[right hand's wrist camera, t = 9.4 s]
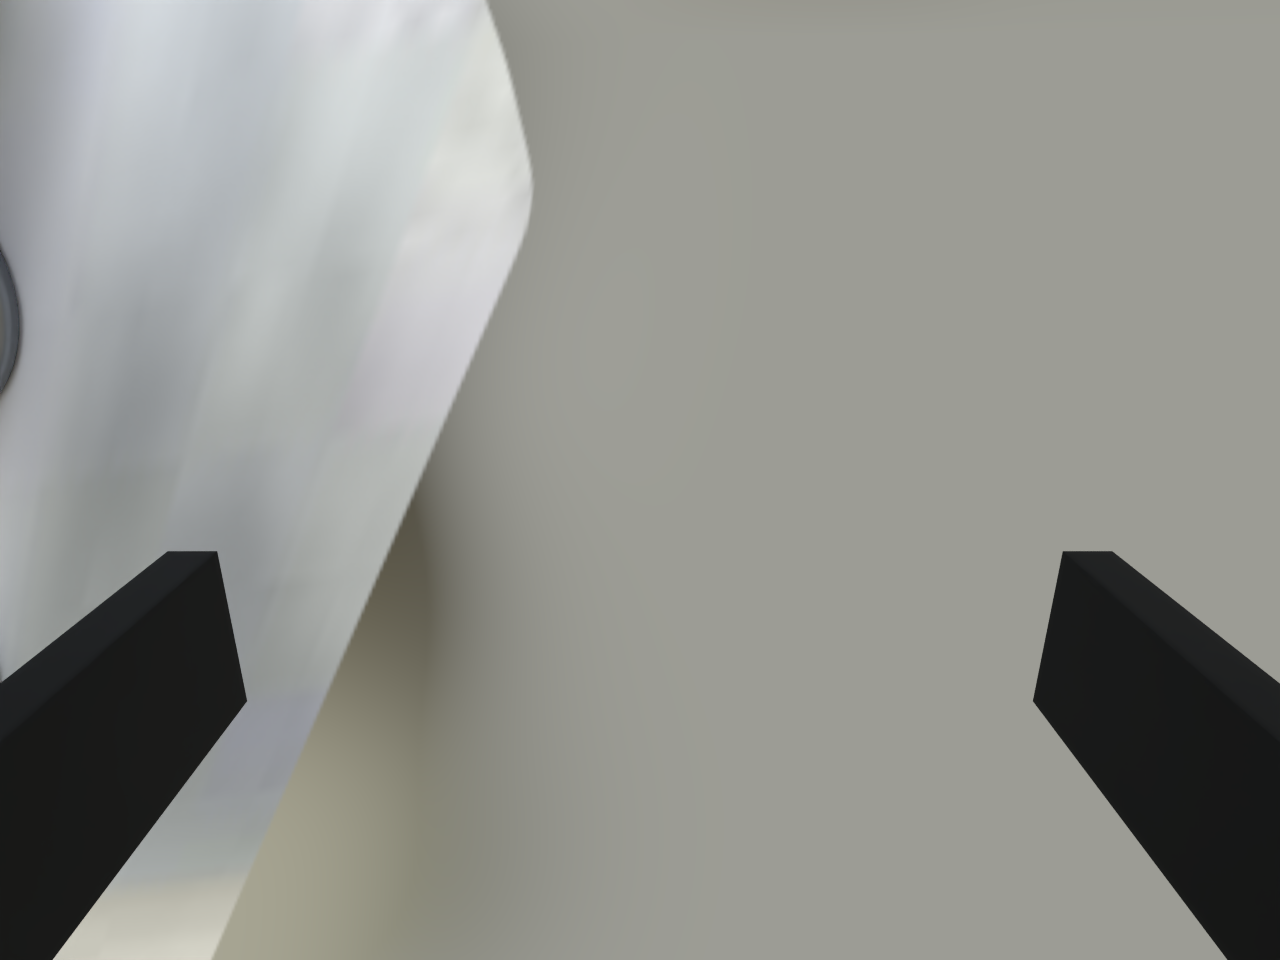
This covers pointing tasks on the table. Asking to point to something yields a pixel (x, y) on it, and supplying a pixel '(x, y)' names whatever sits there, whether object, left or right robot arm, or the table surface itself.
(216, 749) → the table surface
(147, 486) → the table surface
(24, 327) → the table surface
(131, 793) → the right robot arm
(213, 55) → the table surface
